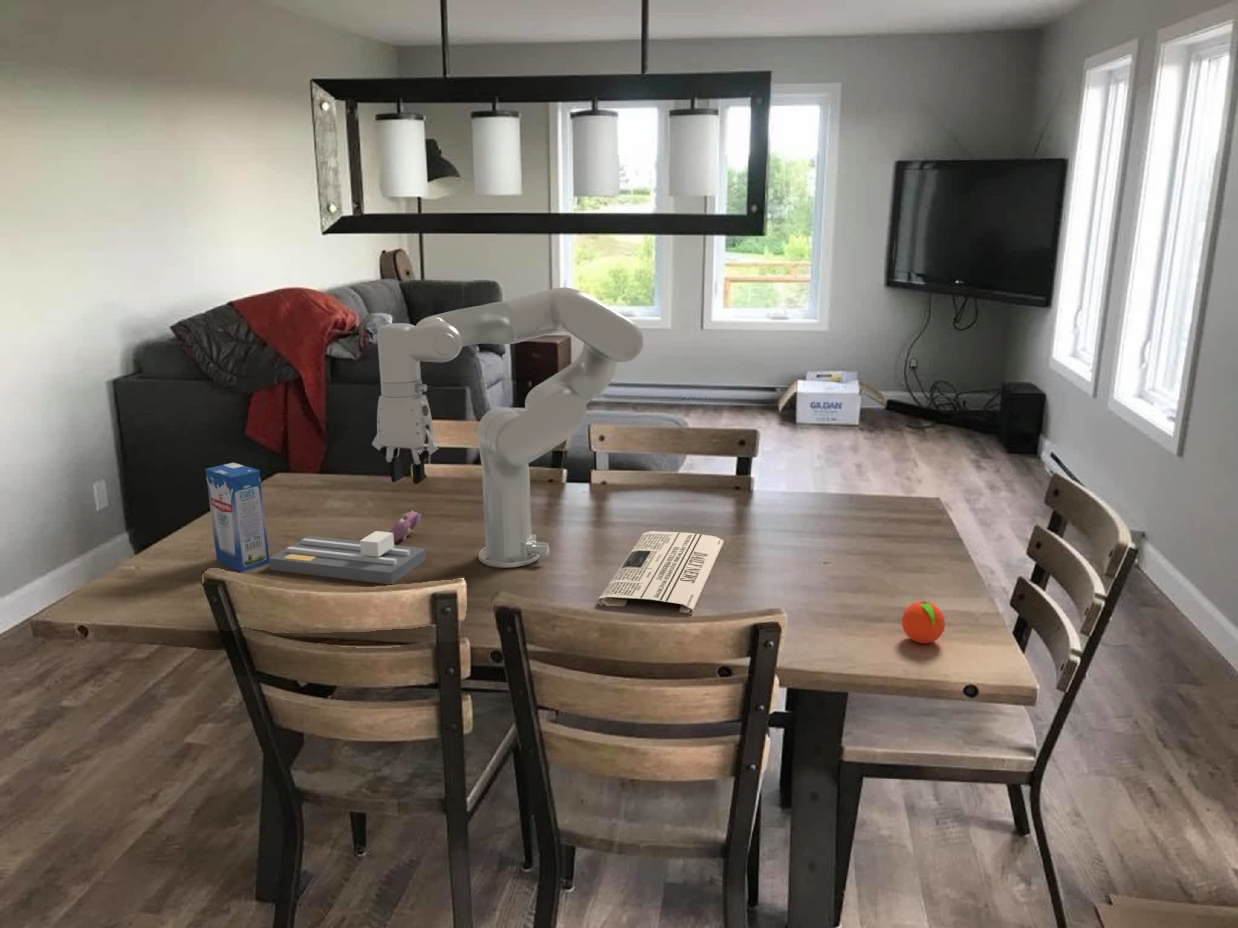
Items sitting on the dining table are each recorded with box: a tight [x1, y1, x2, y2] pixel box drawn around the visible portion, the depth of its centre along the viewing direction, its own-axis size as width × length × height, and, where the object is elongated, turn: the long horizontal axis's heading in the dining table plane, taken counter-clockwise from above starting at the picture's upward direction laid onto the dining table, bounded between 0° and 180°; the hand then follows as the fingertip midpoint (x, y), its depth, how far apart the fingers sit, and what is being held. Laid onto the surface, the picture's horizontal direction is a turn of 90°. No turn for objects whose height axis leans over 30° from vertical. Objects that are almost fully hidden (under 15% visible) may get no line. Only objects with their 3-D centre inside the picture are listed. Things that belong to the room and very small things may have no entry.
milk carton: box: [204, 462, 270, 573], centre depth 202 cm, size 10×6×20 cm, turn 50°
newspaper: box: [597, 530, 725, 615], centre depth 197 cm, size 37×19×3 cm, turn 166°
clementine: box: [901, 601, 946, 644], centre depth 165 cm, size 8×7×7 cm
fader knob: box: [359, 530, 395, 557], centre depth 200 cm, size 4×6×4 cm, turn 162°
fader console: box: [268, 535, 427, 585], centre depth 203 cm, size 28×14×3 cm, turn 72°
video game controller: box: [388, 510, 422, 543], centre depth 218 cm, size 10×5×7 cm, turn 169°
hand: (407, 480), depth 193 cm, fingers open, 4 cm apart
